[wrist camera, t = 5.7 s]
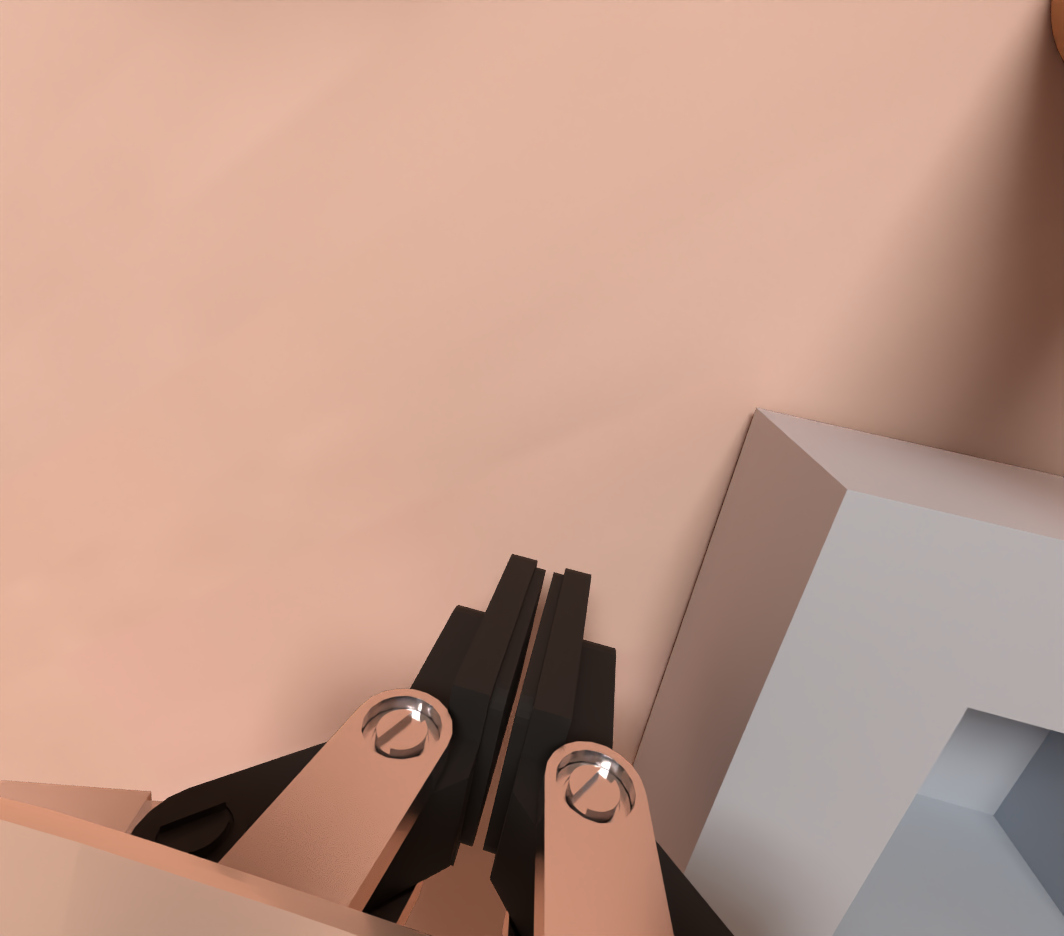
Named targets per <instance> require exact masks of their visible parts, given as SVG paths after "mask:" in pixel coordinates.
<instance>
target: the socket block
mask: <svg viewBox="0 0 1064 936" xmlns="http://www.w3.org/2000/svg"><path fill="white" fill-rule="evenodd" d="M633 768H634V769H635V770H636V772H637V773H638V775H639V776H640V778H641V780H642V783H643V786H644V788H645V791H646V795H647V800H648V805H649V810H650V816H651V821H652V826H653V831H654V836H655V840H656V841H657V842H658V844H659V845H660V846H661V847H662V849H663V850H664V851H665V852H666V853H667V855H668V856H669V857H670V858H671V859H672V861H673V862H674V863H675V864H676V866H677V867H678V868H679V869H680V870H681V872H682V873H683V874H684V875H685V876H686V878H687V879H688V880H689V881H690V883H691V884H692V885H693V886H694V887H695V889H696V890H697V891H698V892H699V894H700V895H701V896H702V897H703V898H704V900H705V901H706V902H707V903H708V904H709V906H710V907H711V908H712V909H713V911H714V912H715V913H716V914H717V915H718V917H719V918H720V919H721V920H722V921H723V923H724V924H725V925H726V926H727V928H728V929H729V930H730V931H731V932H732V934H733V935H734V936H1064V477H1062V476H1057V475H1053V474H1049V473H1044V472H1040V471H1035V470H1031V469H1026V468H1022V467H1018V466H1013V465H1009V464H1004V463H1000V462H995V461H991V460H986V459H982V458H978V457H973V456H969V455H964V454H960V453H955V452H951V451H946V450H942V449H938V448H933V447H929V446H924V445H920V444H915V443H911V442H906V441H902V440H898V439H893V438H889V437H884V436H880V435H875V434H871V433H866V432H862V431H858V430H853V429H849V428H844V427H840V426H835V425H831V424H826V423H822V422H818V421H813V420H809V419H804V418H800V417H795V416H791V415H786V414H782V413H778V412H773V411H769V410H764V409H760V408H756V410H755V413H754V416H753V419H752V422H751V425H750V428H749V430H748V433H747V436H746V439H745V442H744V445H743V448H742V451H741V454H740V457H739V459H738V462H737V465H736V468H735V471H734V474H733V477H732V480H731V483H730V486H729V488H728V491H727V494H726V497H725V500H724V503H723V506H722V509H721V512H720V514H719V517H718V520H717V523H716V526H715V529H714V532H713V535H712V538H711V541H710V543H709V546H708V549H707V552H706V555H705V558H704V561H703V564H702V567H701V570H700V572H699V575H698V578H697V581H696V584H695V587H694V590H693V593H692V596H691V599H690V601H689V604H688V607H687V610H686V613H685V616H684V619H683V622H682V625H681V627H680V630H679V633H678V636H677V639H676V642H675V645H674V648H673V651H672V654H671V656H670V659H669V662H668V665H667V668H666V671H665V674H664V677H663V680H662V683H661V685H660V688H659V691H658V694H657V697H656V700H655V703H654V706H653V709H652V712H651V714H650V717H649V720H648V723H647V726H646V729H645V732H644V735H643V738H642V741H641V743H640V746H639V749H638V752H637V755H636V758H635V761H634V764H633Z"/></svg>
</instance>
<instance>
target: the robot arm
mask: <svg viewBox="0 0 1064 936" xmlns="http://www.w3.org/2000/svg"><path fill="white" fill-rule="evenodd" d="M536 567H537V560H533V559H529V558H526V557H522V556H518V555H514V554H512V555H511V557H510V559H509V562H508V564H507V566H506V568H505V570H504V573H503V575H502V577H501V579H500V581H499V584H498V586H497V588H496V590H495V593H494V595H493V597H492V599H491V601H490V604H489V606H488V608H487V610H486V612H482V611H478V610H475V609H471V608H468V607H464V606H460V605H458V606H456V608H455V609H454V611H453V613H452V614H451V616H450V618H449V620H448V622H447V623H446V625H445V627H444V629H443V631H442V632H441V634H440V636H439V638H438V639H437V641H436V643H435V645H434V647H433V648H432V650H431V652H430V654H429V656H428V657H427V659H426V661H425V663H424V665H423V666H422V668H421V670H420V672H419V674H418V675H417V677H416V679H415V681H414V683H413V684H412V686H411V688H410V689H393V690H388V691H384V692H381V693H379V694H377V695H375V696H372V697H370V698H369V699H368V700H367V701H366V702H364V703H363V704H362V705H361V706H360V707H359V708H358V709H357V710H356V711H355V712H354V713H353V714H352V715H351V716H350V718H349V719H348V720H347V721H346V722H345V723H344V724H343V725H342V726H341V728H340V729H339V730H338V731H337V732H336V733H335V734H334V735H333V736H332V737H331V739H330V740H329V741H328V742H325V743H322V744H319V745H316V746H313V747H310V748H307V749H304V750H301V751H298V752H295V753H292V754H289V755H286V756H283V757H280V758H277V759H274V760H271V761H268V762H265V763H262V764H259V765H256V766H254V767H251V768H248V769H245V770H242V771H239V772H236V773H233V774H230V775H227V776H224V777H221V778H218V779H215V780H212V781H209V782H206V783H203V784H200V785H197V786H194V787H191V788H188V789H186V790H184V791H182V792H180V793H177V794H175V795H173V796H171V797H169V798H167V799H166V800H164V801H152V798H151V791H138V790H125V789H111V788H98V787H85V786H72V785H59V784H46V783H32V782H19V781H6V780H2V781H0V936H431V935H428V934H425V933H422V932H419V931H416V930H413V929H410V928H407V927H405V926H404V925H405V923H406V921H407V919H408V917H409V915H410V913H411V911H412V909H413V907H414V905H415V903H416V901H417V899H418V897H419V894H420V891H421V888H422V885H423V882H424V880H425V879H427V878H428V877H430V876H432V875H434V874H436V873H438V872H440V871H441V870H443V869H445V868H447V867H449V866H450V865H452V866H453V865H454V862H455V859H456V855H457V852H458V849H459V846H460V843H463V844H466V845H469V846H473V843H474V840H475V837H476V833H477V829H478V826H479V822H480V819H481V815H482V812H483V808H484V805H485V801H486V798H487V794H488V791H489V787H490V784H491V780H492V777H493V773H494V770H495V766H496V763H497V759H498V756H499V752H500V748H501V745H502V741H503V738H504V734H505V731H506V727H507V724H508V720H509V717H510V713H511V710H512V706H513V703H514V699H515V696H516V692H517V688H518V685H519V681H520V677H521V673H522V668H523V664H524V660H525V656H526V652H527V647H528V643H529V639H530V635H531V631H532V627H533V622H534V618H535V614H536V610H537V606H538V601H539V597H540V593H541V589H542V585H543V580H544V576H545V572H546V570H544V569H540V568H536ZM590 582H591V575H590V574H586V573H582V572H578V571H575V570H571V569H567V568H566V569H565V573H564V575H562V574H559V573H555V572H554V574H553V577H552V581H551V585H550V588H549V592H548V596H547V600H546V603H545V607H544V611H543V614H542V618H541V622H540V625H539V629H538V633H537V636H536V640H535V644H534V647H533V651H532V655H531V658H530V662H529V666H528V669H527V673H526V677H525V680H524V684H523V688H522V692H521V695H520V699H519V703H518V707H517V711H516V715H515V719H514V723H513V727H512V731H511V735H510V740H509V744H508V748H507V752H506V756H505V760H504V764H503V769H502V773H501V777H500V781H499V785H498V789H497V793H496V798H495V802H494V806H493V810H492V814H491V818H490V822H489V827H488V831H487V835H486V839H485V843H484V847H483V850H485V851H488V852H491V853H494V854H496V855H495V859H494V864H493V868H492V872H491V876H490V878H491V879H490V880H491V882H492V884H493V885H494V887H495V889H496V891H497V893H498V895H499V897H500V898H501V900H502V902H503V904H504V906H505V908H506V913H505V918H504V923H503V933H502V936H734V935H733V934H732V932H731V931H730V930H729V929H728V928H727V926H726V925H725V924H724V923H723V921H722V920H721V919H720V918H719V917H718V915H717V914H716V913H715V912H714V911H713V909H712V908H711V907H710V906H709V904H708V903H707V902H706V901H705V900H704V898H703V897H702V896H701V895H700V894H699V892H698V891H697V890H696V889H695V887H694V886H693V885H692V884H691V883H690V881H689V880H688V879H687V878H686V876H685V875H684V874H683V873H682V872H681V870H680V869H679V868H678V867H677V866H676V864H675V863H674V862H673V861H672V859H671V858H670V857H669V856H668V855H667V853H666V852H665V851H664V850H663V849H662V847H661V846H660V845H659V844H658V842H657V841H656V840H655V836H654V831H653V826H652V821H651V816H650V810H649V805H648V800H647V795H646V791H645V788H644V786H643V783H642V780H641V778H640V776H639V775H638V773H637V772H636V770H635V769H634V768H633V766H632V765H631V764H630V763H629V762H628V761H627V760H626V759H625V758H623V757H622V756H621V755H620V754H619V753H617V752H615V751H613V750H612V745H613V718H614V692H615V666H616V650H615V648H611V647H608V646H604V645H601V644H597V643H593V642H590V641H586V640H583V634H584V626H585V619H586V612H587V604H588V597H589V589H590Z"/></svg>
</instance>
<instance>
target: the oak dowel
mask: <svg viewBox="0 0 1064 936" xmlns="http://www.w3.org/2000/svg"><path fill="white" fill-rule="evenodd" d="M1051 23H1052V30H1053V36H1054V39H1055V42H1056V46H1057V49H1058V51H1059V53H1060V55H1061V57H1062V59H1063V61H1064V0H1052V1H1051Z"/></svg>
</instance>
